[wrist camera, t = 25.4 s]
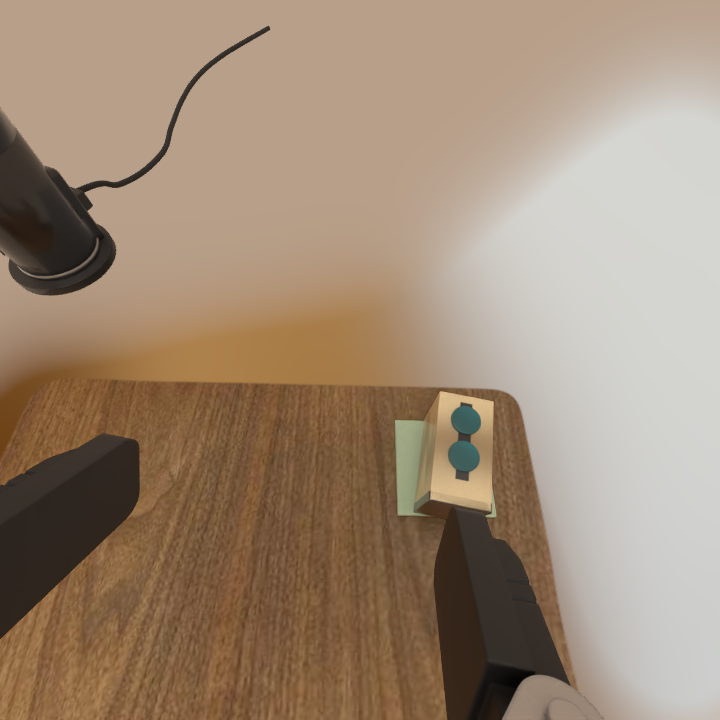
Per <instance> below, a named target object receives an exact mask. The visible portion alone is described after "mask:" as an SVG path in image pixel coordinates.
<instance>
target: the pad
mask: <svg viewBox="0 0 720 720" xmlns="http://www.w3.org/2000/svg"><path fill="white" fill-rule="evenodd" d="M423 427H424V421H412V420H395V454H396V487H397V515H398V516H429V515H424V514H419V513H414V512H413V510H414V503H415V497H416V488H417V480H418V471H419V462H420V454H421V445H422V436H423ZM491 503H492V514H490V515H487V516H485V517H486V518H495V517H496V510H495V504H494V497H493V490H492V498H491Z"/></svg>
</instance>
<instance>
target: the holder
mask: <svg viewBox="0 0 720 720" xmlns="http://www.w3.org/2000/svg"><path fill="white" fill-rule="evenodd" d="M492 448H493V401H488V400H483V399H478V398H473V397H468V396H462V395H457V394H452V393H447V392H441V391H440V392H439V394H438V396H437V398H436V399H435V401H434V403H433V405H432V407H431V408H430V410H429V412H428V414H427V415H426V417H425V419H424V427H423V436H422V445H421V454H420V462H419V471H418V480H417V488H416V497H415V503H414V510H413V512H414V513H419V514H424V515H429V516H433V517H438V518H443V519H447V517H448V513H449V511H450V509H451V507H456V508H461V509H466V510H470V511H475V512H480V513H483V514H484V515H485V516H487V515H490V514H492V503H491V498H492Z"/></svg>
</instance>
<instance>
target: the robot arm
mask: <svg viewBox="0 0 720 720" xmlns="http://www.w3.org/2000/svg"><path fill="white" fill-rule="evenodd" d="M269 30H270V27H269V26H267V27H265V28H263V29H262V30H260V31H258V32H256V33H255V34H253V35H251V36H249V37H247V38H246V39H244V40H242V41H241V42H239V43H237V44H235V45H234V46H232V47H230V48H229V49H227V50H225V51H224V52H222V53H221V54H219V55H218V56H217V57H215V58H214V59H213V60H211V61H210V62H209V63H208V64H206V65H205V66H204V67H203V68H202V69H201V70H200V71H199V72H198V73H197V74H196V75H195V76H194V78H193V79H192V80H191V81H190V83H189V84H188V85H187V87H186V89H185V90H184V92H183V94H182V96H181V98H180V100H179V102H178V104H177V107H176V109H175V112H174V114H173V117H172V119H171V122H170V125H169V127H168V131H167V135H166V140H165V143H164V146H163V147H162V149H161V151H160V152H159V153H158V154H157V155H156V156H155V158H154V159H153V160H152V161H151V162H150V163H148V164H147V165H146V166H145V167H144V168H142V169H141V170H140V171H138V172H137V173H135V174H134V175H132V176H130V177H128V178H126V179H124V180H121V181H119V182H109V181H95V182H92V183H89V184H86V185H83V186H81V187H78V188H76V189H75V188H72V187H69V186H68V184H67V183H66V181H65V180H64V179H63V177H62V176H61V175H60V173H59V172H58V171H57V170H55V169H54V168H50V167H47V166H44V165H43V164H42V162H41V161H40V159H39V158H38V157H37V156H36V154H35V153H34V152H33V150H32V149H31V148H30V146H29V145H28V144H27V142H26V141H25V140H24V138H23V137H22V135H21V134H20V133H19V132H18V130H17V129H16V128H15V126H14V125H13V124H12V122H11V121H10V120H9V118H8V117H7V116H6V114H5V113H4V112H3V110H2V109H1V108H0V252H1V253H2V254H3V255H6V256H8V257H9V258H10V259H11V261H12V262H13V263H14V264H15V265H17V266H18V267H19V269H20V270H21V271H22V272H23V273H25V274H26V275H27V276H29V277H31V278H33V279H36V280H42V281H53V280H60V279H64V278H67V277H70V276H73V275H75V274H77V273H79V272H81V271H82V270H84V269H85V268H87V267H88V266H89V265H90V264H91V263H92V262H93V261H94V260H95V259H96V257H97V256H98V254H99V251H100V248H101V242H100V241H101V240H102V239H103V238H104V237H105V235H104V234H103V232H102V231H101V230H100V228H99V227H98V226H97V224H96V223H95V221H94V220H93V219H92V217H91V216H90V215H89V213H88V212H87V211H88V210H89V209H90V208H91V207H92V206H93V205H92V203H91V202H90V200H89V199H88V198H87V196H86V195H85V193H84V192H86V191H89V190H91V189H94V188H97V187H102V186H107V187H112V188H118V187H122V186H125V185H127V184H129V183H131V182H133V181H135V180H137V179H138V178H140V177H141V176H143V175H144V174H146V173H147V172H148V171H149V170H151V169H152V168H153V167H154V166H155V165H156V164H157V163H158V162H159V161H160V160H161V159H162V157H163V156H164V155H165V153H166V152H167V150H168V147H169V145H170V141H171V136H172V132H173V128H174V126H175V123H176V120H177V117H178V114H179V112H180V109H181V107H182V105H183V103H184V101H185V99H186V97H187V95H188V93H189V92H190V90H191V88H192V87H193V86H194V84H195V83H196V82H197V81H198V79H199V78H200V77H201V76H202V75H203V74H204V73H205V72H206V71H207V70H208V69H209V68H211V67H212V66H213V65H214V64H215V63H217V62H218V61H220V60H221V59H222V58H224V57H225V56H226V55H228V54H230V53H231V52H233V51H235V50H236V49H238V48H240V47H241V46H243V45H245V44H246V43H248V42H250V41H251V40H253V39H255V38H257V37H258V36H260V35H262V34H264V33H266V32H267V31H269ZM139 491H140V480H139V444H138V442H137V441H136V440H134V439H129V438H124V437H119V436H115V435H110V434H101V435H99V436H97V437H95V438H94V439H92V440H90V441H89V442H87V443H85V444H84V445H82V446H80V447H79V448H77V449H73V450H70V451H68V452H65V453H62V454H59V455H56V456H53V457H50V458H48V459H46V460H44V461H43V462H41V463H39V464H37V465H36V466H34V467H32V468H30V469H29V470H27V471H26V473H25V474H20V475H18V476H16V477H15V478H13V479H11V480H9V481H8V482H7V483H6V485H5V486H4V485H1V486H0V639H1V638H2V637H3V636H4V635H5V634H6V633H7V632H8V631H9V630H10V629H11V628H12V627H13V626H14V625H15V624H17V623H18V622H19V621H20V620H21V619H22V618H23V617H24V616H25V615H26V614H27V613H28V612H29V611H30V610H31V609H32V608H33V607H34V606H35V605H36V604H37V603H38V602H40V601H41V600H42V599H43V598H44V597H45V596H46V595H47V594H48V593H49V592H50V591H51V590H52V589H53V588H54V587H55V586H56V585H57V584H58V583H59V582H60V581H62V580H63V579H64V578H65V577H66V576H67V575H68V574H69V573H70V572H71V571H72V570H73V569H74V568H75V567H76V566H77V565H78V564H79V563H80V562H81V561H82V560H83V559H85V558H86V557H87V556H88V555H89V554H90V553H91V552H92V551H93V550H94V549H95V548H96V547H97V546H98V545H99V544H100V543H101V542H102V541H103V540H104V539H105V538H106V537H108V536H109V535H110V534H111V533H112V532H113V531H114V530H115V529H116V528H117V527H118V526H119V525H120V524H121V523H122V522H123V521H124V520H125V519H126V518H127V517H128V516H129V515H130V514H131V512H132V511H133V509H134V507H135V505H136V503H137V501H138V497H139ZM434 591H435V601H436V611H437V621H438V631H439V641H440V651H441V661H442V671H443V681H444V691H445V701H446V711H447V720H604V718H603V717H602V715H601V714H600V713H599V712H598V711H597V709H596V708H595V707H594V706H593V705H592V704H591V703H590V702H589V701H588V700H587V699H586V698H585V697H584V696H583V695H581V693H579V692H578V691H577V690H575V689H574V688H573V687H571V685H570V683H569V681H568V678H567V676H566V673H565V671H564V668H563V666H562V663H561V661H560V658H559V656H558V653H557V650H556V648H555V645H554V643H553V640H552V638H551V635H550V633H549V630H548V628H547V625H546V623H545V620H544V618H543V615H542V612H541V610H540V607H539V605H538V604H536V597H535V595H534V592H533V590H532V587H531V586H530V585H529V579H528V577H527V574H526V572H525V569H524V567H523V564H522V562H521V560H520V558H519V557H518V556H517V555H516V554H515V552H514V551H513V550H512V549H511V547H510V546H509V545H508V544H507V543H506V541H504V540H500V539H495V538H492V535H491V532H490V529H489V526H488V522H487V519H486V517H485V515H484V514H483V513H480V512H475V511H470V510H466V509H461V508H456V507H451V509H450V511H449V513H448V517H447V520H446V524H445V527H444V531H443V535H442V538H441V542H440V546H439V549H438V553H437V557H436V561H435V569H434Z"/></svg>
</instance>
